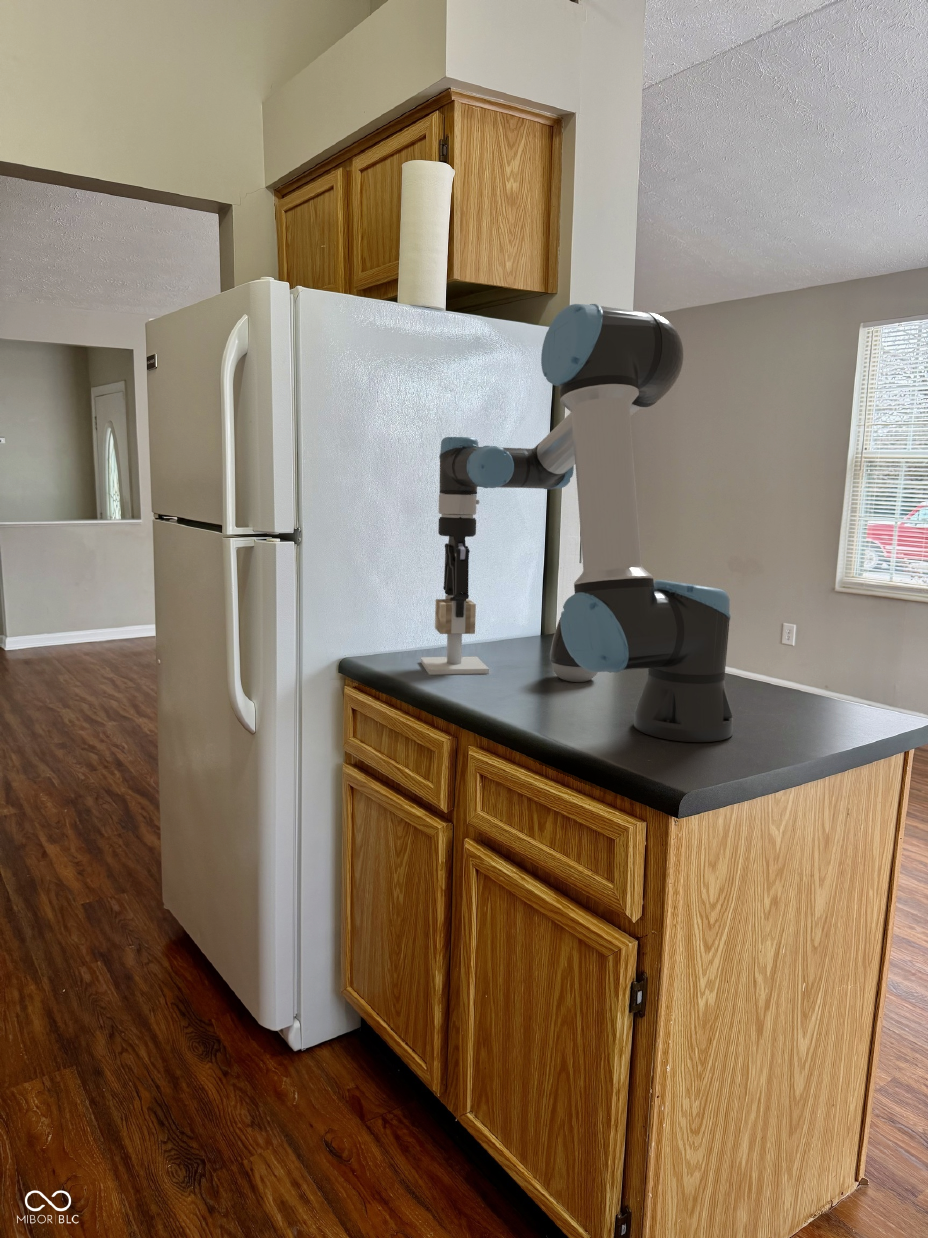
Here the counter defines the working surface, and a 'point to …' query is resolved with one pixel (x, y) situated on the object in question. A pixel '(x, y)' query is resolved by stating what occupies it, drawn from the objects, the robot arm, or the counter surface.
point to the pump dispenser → (566, 661)
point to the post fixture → (454, 660)
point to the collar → (444, 616)
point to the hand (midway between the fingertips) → (454, 629)
